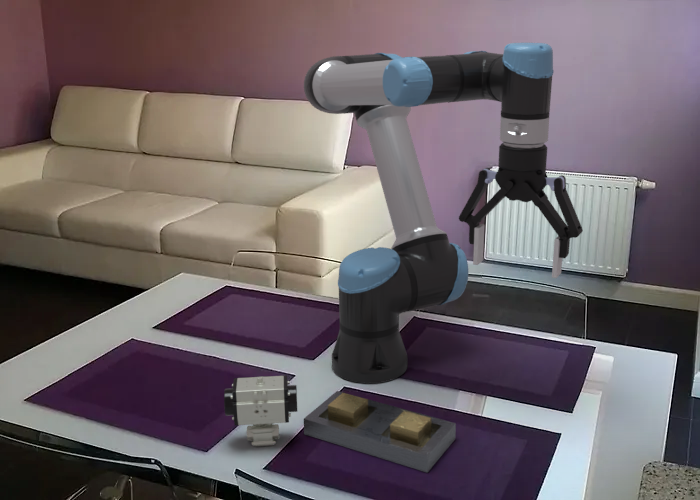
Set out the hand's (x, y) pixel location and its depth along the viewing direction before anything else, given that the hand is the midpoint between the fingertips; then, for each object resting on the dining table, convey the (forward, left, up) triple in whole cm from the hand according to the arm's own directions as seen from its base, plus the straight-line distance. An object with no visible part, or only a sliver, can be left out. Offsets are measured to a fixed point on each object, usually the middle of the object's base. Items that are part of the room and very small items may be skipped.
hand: (516, 269), depth 132 cm
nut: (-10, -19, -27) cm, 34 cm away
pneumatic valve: (-32, -30, -27) cm, 51 cm away
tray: (-16, -19, -27) cm, 36 cm away
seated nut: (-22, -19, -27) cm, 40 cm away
